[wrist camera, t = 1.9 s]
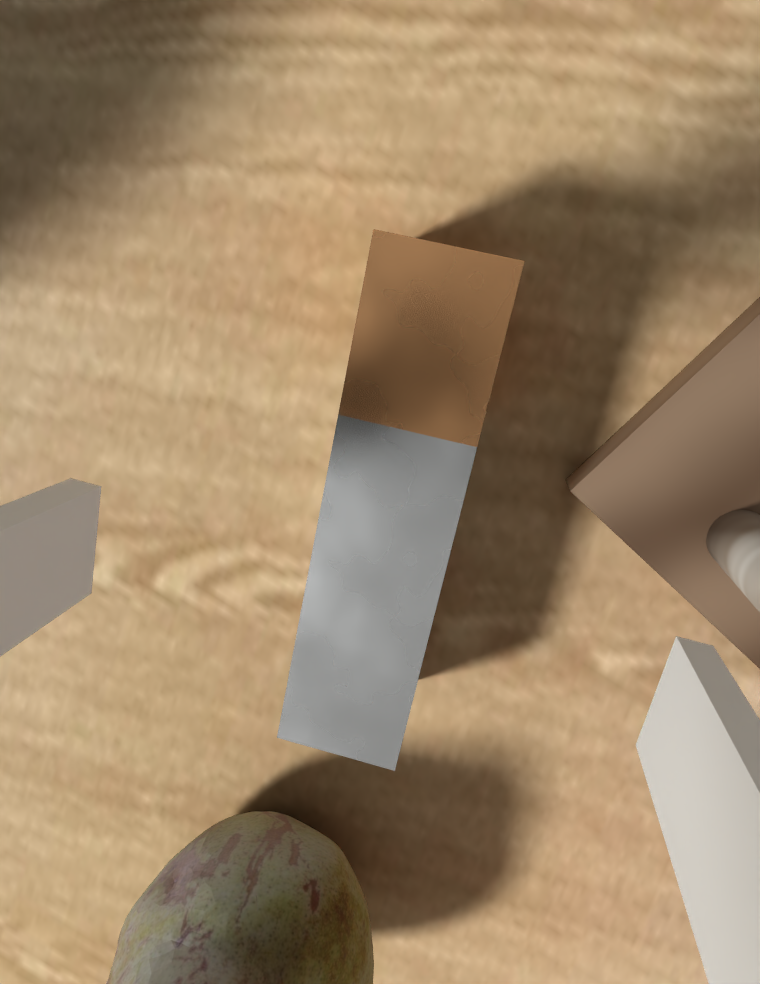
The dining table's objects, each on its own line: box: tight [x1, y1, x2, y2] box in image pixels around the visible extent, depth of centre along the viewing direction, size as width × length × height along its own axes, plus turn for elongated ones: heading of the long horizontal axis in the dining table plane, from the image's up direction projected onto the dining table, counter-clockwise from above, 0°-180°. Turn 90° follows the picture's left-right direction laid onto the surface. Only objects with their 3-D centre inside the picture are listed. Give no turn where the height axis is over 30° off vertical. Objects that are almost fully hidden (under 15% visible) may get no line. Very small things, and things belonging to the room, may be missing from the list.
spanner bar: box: [277, 229, 524, 771], centre depth 23 cm, size 16×4×6 cm, turn 168°
